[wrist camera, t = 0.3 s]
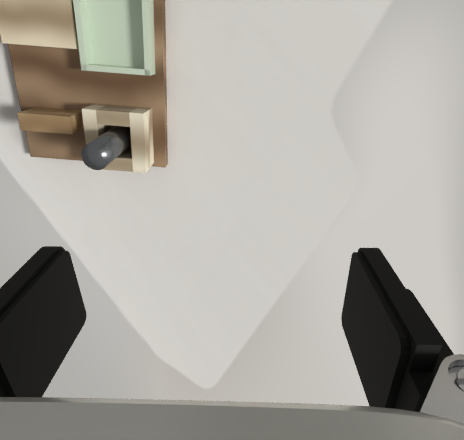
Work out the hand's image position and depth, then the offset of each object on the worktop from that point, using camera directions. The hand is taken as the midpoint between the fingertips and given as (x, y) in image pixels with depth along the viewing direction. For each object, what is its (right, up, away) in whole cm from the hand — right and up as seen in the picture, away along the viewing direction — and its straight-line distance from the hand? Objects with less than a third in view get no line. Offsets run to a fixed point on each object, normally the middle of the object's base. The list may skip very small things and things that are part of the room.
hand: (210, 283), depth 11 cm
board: (-16, +20, +30) cm, 40 cm away
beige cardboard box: (-20, +25, +26) cm, 42 cm away
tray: (-12, +24, +27) cm, 38 cm away
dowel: (-13, +13, +32) cm, 37 cm away
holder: (-13, +13, +32) cm, 37 cm away
